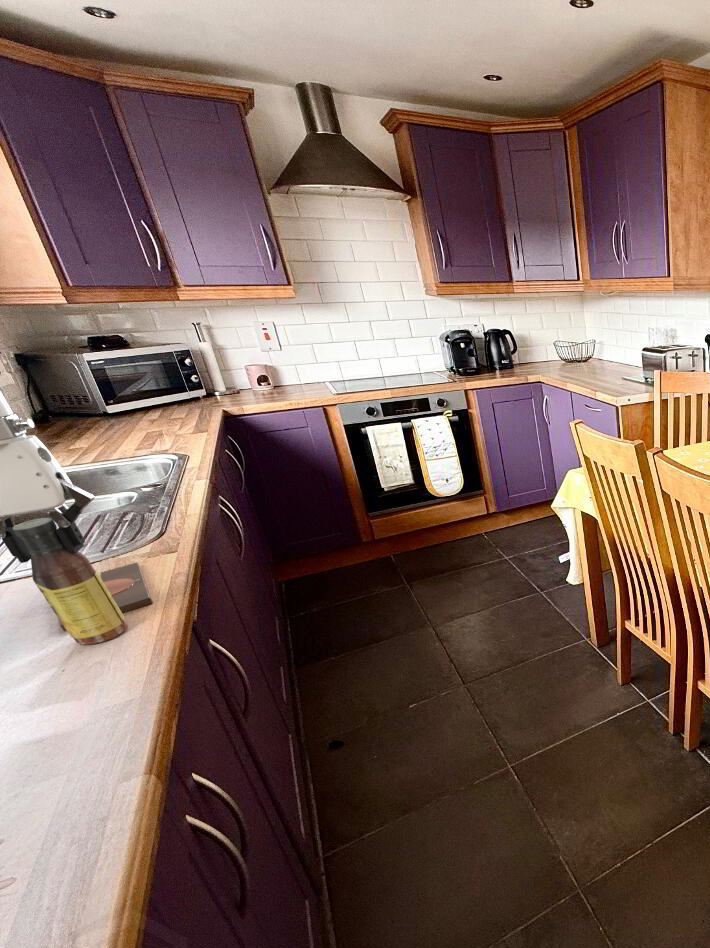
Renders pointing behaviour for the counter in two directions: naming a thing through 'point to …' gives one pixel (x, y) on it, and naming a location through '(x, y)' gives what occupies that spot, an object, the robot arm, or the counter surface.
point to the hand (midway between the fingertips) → (53, 553)
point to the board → (125, 587)
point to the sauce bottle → (70, 585)
